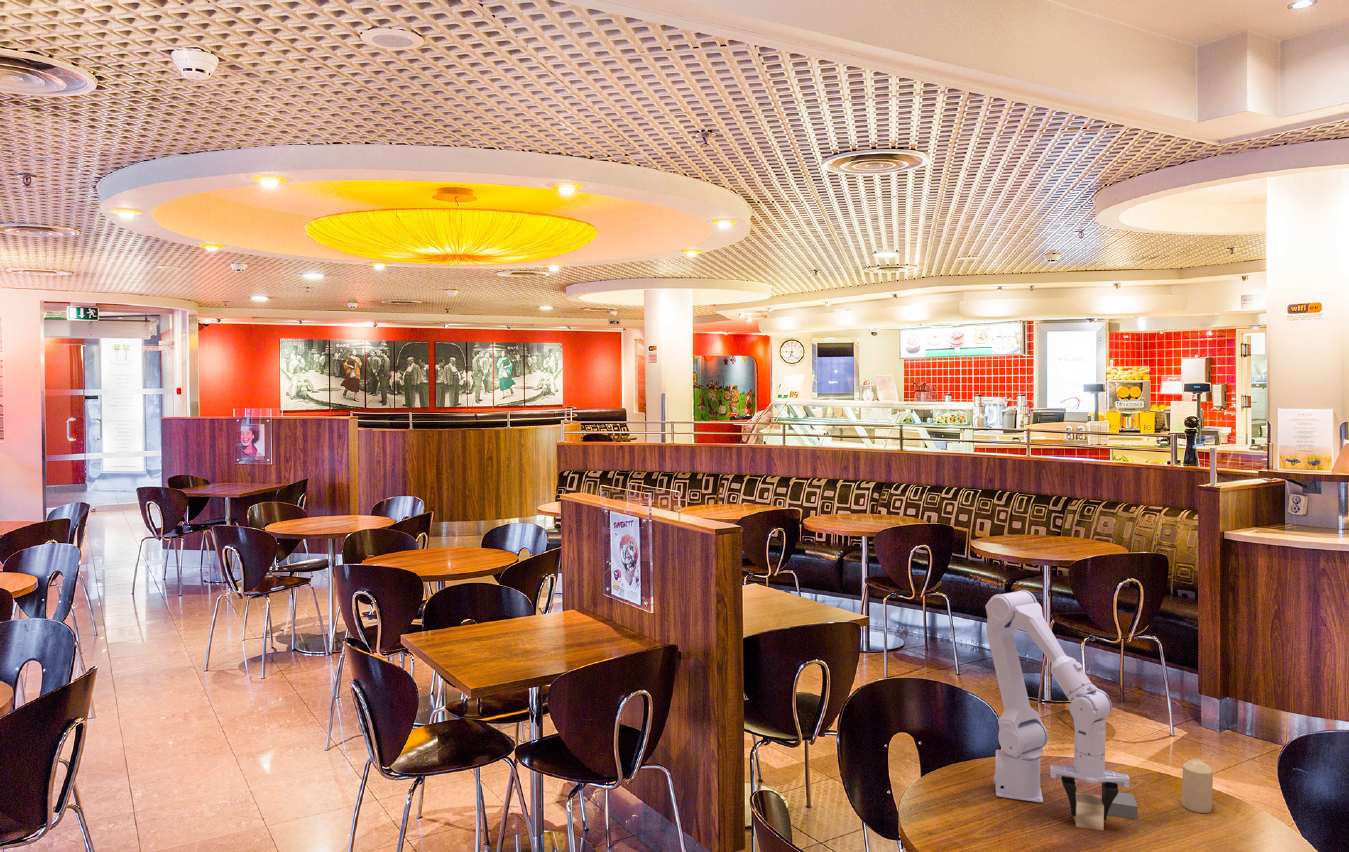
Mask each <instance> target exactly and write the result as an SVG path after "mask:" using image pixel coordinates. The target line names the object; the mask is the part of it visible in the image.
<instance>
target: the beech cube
mask: <svg viewBox="0 0 1349 852" xmlns="http://www.w3.org/2000/svg"><path fill="white" fill-rule="evenodd" d="M1075 806H1076V816H1073V819H1074V822H1075V827H1076V828H1084V829H1089V830H1090V829H1091V830H1096V831H1097V830H1098V831H1104V822H1105V820H1104V805H1103V802H1102V795H1098V794H1091V793H1084V792H1077V791H1076V797H1075Z"/></svg>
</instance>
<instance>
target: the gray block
mask: <svg viewBox="0 0 1349 852" xmlns="http://www.w3.org/2000/svg"><path fill="white" fill-rule="evenodd" d="M1107 816H1112V817H1117V818H1125V819H1130V818H1133V819H1132V820H1136V819H1137V820H1138V804H1137V801H1136V798H1135V795H1134V794H1133V793H1126V792H1120V791H1118V794H1117V796H1116V797H1115V799H1114V800H1113V802H1112V804H1111V806H1110V808H1109V811H1108V814H1107Z"/></svg>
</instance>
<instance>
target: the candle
mask: <svg viewBox="0 0 1349 852" xmlns="http://www.w3.org/2000/svg"><path fill="white" fill-rule="evenodd" d="M1213 781H1214V770H1213V769H1212V767H1210V766H1209V765H1208V764H1207V763H1205V761H1202V760H1201V759H1200V758H1191V759H1189V760H1187V761H1186V762H1184V763H1183V764H1182V782H1181V784H1182V788H1181V805H1182V807H1184V808H1185V809H1186V810H1188V811H1190V812H1194V813H1200V814H1209V813H1211V812H1212V811H1213V784H1214V783H1213Z"/></svg>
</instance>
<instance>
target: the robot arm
mask: <svg viewBox="0 0 1349 852" xmlns="http://www.w3.org/2000/svg"><path fill="white" fill-rule="evenodd" d="M984 607H985V610H986V617H987V620H986V635H987V638H988V644H989V647H990V653H991V655H992V656H991V657H992V661H993V665H994V669H995V670H994V671H995V675H996V678H997V682H998V687H999V691H1000V696H1001V701H1002V705H1003V712H1002V713H1001V715H1000V717H999V719H998V721H997V723H998V730H999V731H998V736H997V737H998V742H999V745H1000V747H1001V749H995V760H994V762H995V764H994V765H995V767H994V768H995V771H994V775H993V784H994V785H995V786H994V787H995V796H996V797H1000V798H1005V799H1013V800H1020V801H1027V802H1034V803H1035V802H1036V803H1044V797H1043V793H1042V788H1041V754H1043V748H1045V747H1046V745H1047V744H1048V741H1049V735H1048V730H1047V729H1046V727H1045V725H1044V724H1043V722H1042V720H1041V716H1040V713H1038V711H1037V710H1035V709H1034V708H1033V707H1031V703H1030V699H1029V696H1028V695H1029V694H1028V691H1027V688H1026V687H1027V686H1026V684H1025V678H1024V675H1023V670H1022V664H1021V661H1020V657H1019V656H1020V655H1019V654H1018V648H1017V644H1016V640H1015V634H1016V632H1017V631H1018V630H1020V631H1023V632H1026V633H1028V635H1029V636H1030V637H1031V638H1032V640H1033V641H1034V642H1035V644H1036V645H1037V647H1038V648H1039V649H1040V651H1041V652H1042V653H1043V654H1044V656H1045V657H1046V658H1047V660H1048V661H1049V662H1050V663H1051V664H1050V665H1051V667H1050V674H1051V675H1052V677H1053V678H1054V679H1055V681H1056V682H1057V684H1058V686H1059V687H1060V688H1061V690H1062V692H1063V693H1064V695H1065V696H1066V698H1067V699H1068V700H1069V704H1068V710H1069V713H1070V715H1071V717H1072V719H1073V726H1074V745H1073V746H1074V750H1073V751H1074V752H1073V753H1074V754H1073V765H1056V764H1055V765H1053V764H1050V766H1049V769H1050V770H1049V771H1050V772H1049V773H1050V778H1051V779H1057V778H1059V779H1061V782H1062V785H1063V788H1064V790H1065V792H1066V795H1067V797H1068V801H1069V807H1070V813H1071V817H1072V816H1073V817H1074V816H1076V806H1075V797H1076V792H1077V787H1076V786H1077V785H1076V781H1084V782H1087V783H1090V784H1098V783H1099V784H1101V799H1102V802H1103V805H1104V821H1107V817H1108V815H1107V814H1108V811H1109V808H1110V806H1111V804H1112V802H1113V800H1114V799H1115V797H1116V796H1117V794H1118V792H1119V788H1118V787H1119V786H1122V787H1123V788H1126V789H1127V788H1128V789H1129V788H1130V777H1129V775H1128V774H1124V773H1119V772H1115V771H1111V770H1107V769H1106V733H1107V732H1106V731H1107V730H1106V728H1107V727H1106V726H1107V719H1106V718H1107V717H1109V716H1110V715H1112V712H1113V704H1112V700H1111V699H1110V698H1109V697H1110V696H1109V694H1108V693H1106V692H1105V691H1104V690H1102V689H1100V688H1097V686H1096V685H1095V684H1093V683H1092V681H1091V679H1090V678H1089V677H1088V675H1087V674H1086V672H1085V671H1084V670H1083V665H1082V664H1081V663H1080V662H1079V661H1077V659H1075V658H1074V657H1071V656H1068V655H1067V654H1066V653H1065V651H1064V650H1063V648H1062V646H1061V645H1060V643H1059V641H1058V640H1057V638H1056V636H1055V635H1054V633H1053V631H1052V629H1051V628H1050V625H1049V624H1048V622H1047V621H1046V619H1045V618H1044V615H1043V613H1044V612H1043V608H1042V606H1041V604H1040V602H1038V600H1037V598H1036V596H1035V595H1034V594H1033V593H1032V592H1030V591H1029V590H1025V589H1022V590H1021V589H1019V590H1017V591H1012V592H1006V593H1002V594H1001V593H997V594H994V595H993V596H991V597H990V599H989V600H988V601H987V603H986V604H985V606H984ZM1075 780H1076V781H1075Z"/></svg>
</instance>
